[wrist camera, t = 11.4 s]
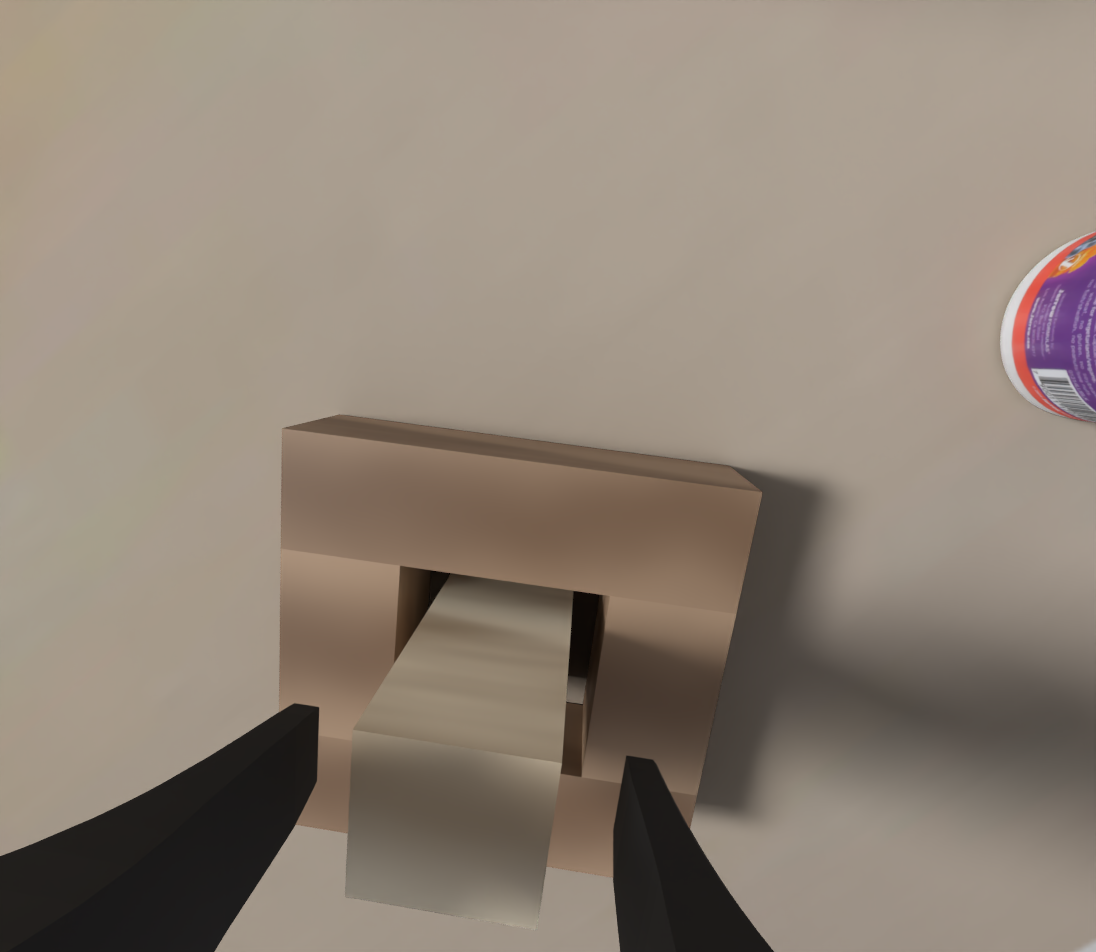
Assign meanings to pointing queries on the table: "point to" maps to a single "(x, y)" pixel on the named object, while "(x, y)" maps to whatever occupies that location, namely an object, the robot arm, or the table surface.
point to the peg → (464, 756)
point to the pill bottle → (1055, 332)
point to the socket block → (524, 557)
